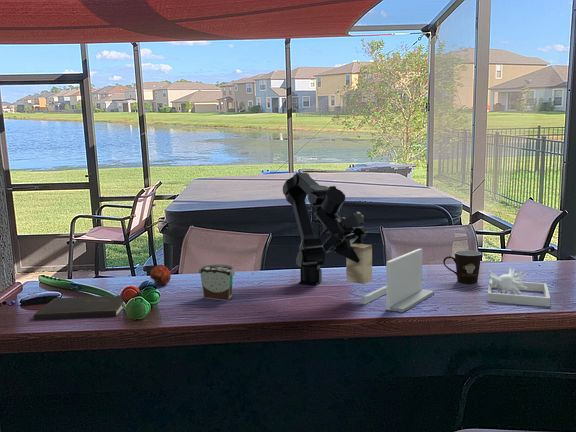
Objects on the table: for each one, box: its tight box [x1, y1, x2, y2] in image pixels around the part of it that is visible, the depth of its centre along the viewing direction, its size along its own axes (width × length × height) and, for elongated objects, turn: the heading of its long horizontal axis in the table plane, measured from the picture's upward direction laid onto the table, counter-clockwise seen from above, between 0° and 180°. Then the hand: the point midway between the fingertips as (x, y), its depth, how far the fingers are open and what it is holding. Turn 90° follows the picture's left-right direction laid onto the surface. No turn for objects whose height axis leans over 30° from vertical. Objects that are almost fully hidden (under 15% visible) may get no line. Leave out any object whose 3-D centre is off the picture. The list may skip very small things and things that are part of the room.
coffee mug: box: [442, 249, 482, 285], centre depth 178 cm, size 12×9×10 cm
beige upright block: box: [345, 243, 373, 285], centre depth 159 cm, size 6×5×11 cm
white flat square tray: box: [487, 279, 551, 308], centre depth 160 cm, size 17×17×2 cm
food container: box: [198, 264, 236, 302], centre depth 167 cm, size 12×6×10 cm, turn 65°
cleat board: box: [360, 248, 435, 313], centre depth 160 cm, size 14×22×14 cm, turn 142°
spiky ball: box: [486, 267, 529, 295], centre depth 163 cm, size 11×12×8 cm
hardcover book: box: [33, 294, 124, 321], centre depth 158 cm, size 16×23×2 cm
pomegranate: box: [149, 264, 172, 286], centre depth 184 cm, size 7×7×10 cm
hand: (363, 260), depth 158 cm, fingers closed on beige upright block, 5 cm apart
